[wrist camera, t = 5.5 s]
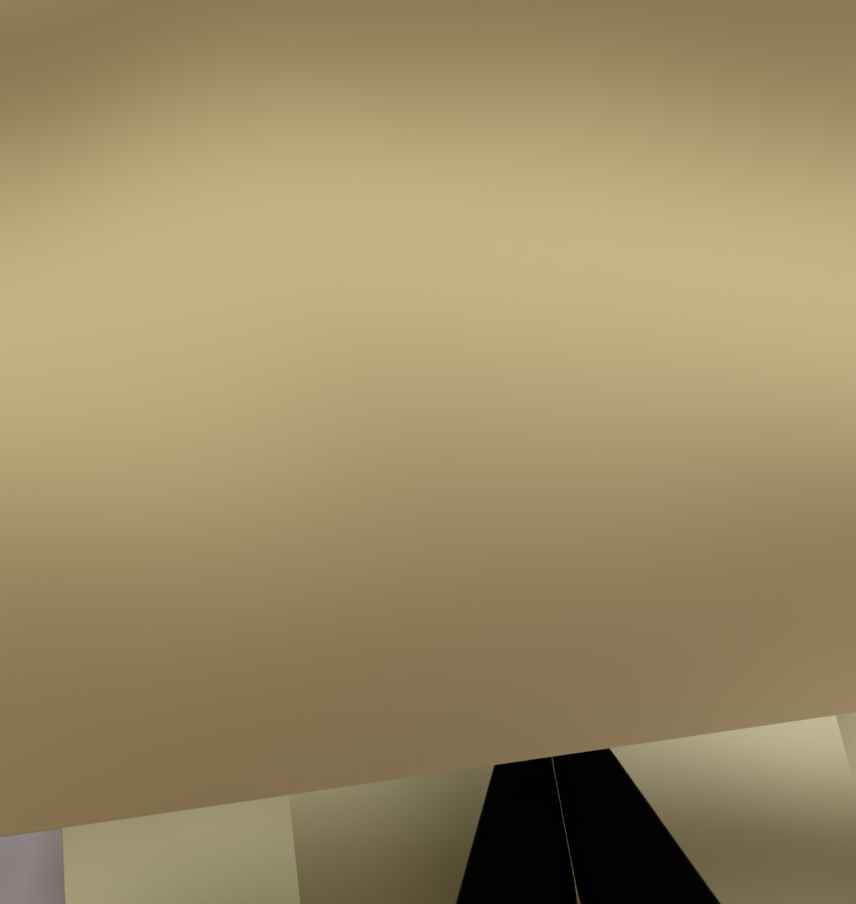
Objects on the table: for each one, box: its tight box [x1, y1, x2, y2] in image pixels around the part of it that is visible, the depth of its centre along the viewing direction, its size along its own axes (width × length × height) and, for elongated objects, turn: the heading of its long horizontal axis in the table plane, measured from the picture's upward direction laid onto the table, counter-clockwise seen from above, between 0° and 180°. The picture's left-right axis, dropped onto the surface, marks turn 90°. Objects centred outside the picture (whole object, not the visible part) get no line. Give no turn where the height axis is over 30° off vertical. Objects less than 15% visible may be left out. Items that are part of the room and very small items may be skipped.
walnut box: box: [0, 0, 856, 837], centre depth 13 cm, size 14×10×10 cm
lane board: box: [62, 712, 856, 904], centre depth 16 cm, size 26×21×4 cm
